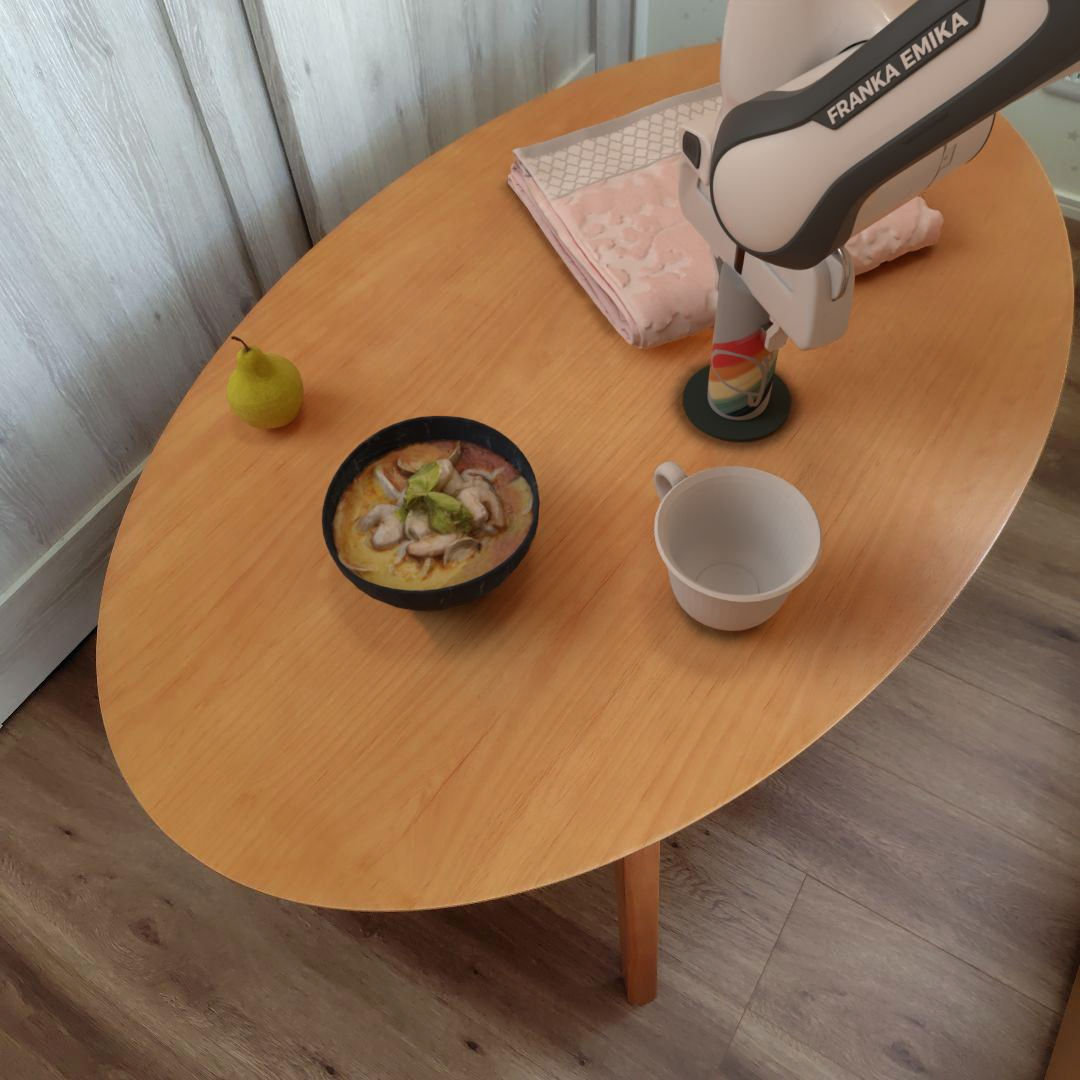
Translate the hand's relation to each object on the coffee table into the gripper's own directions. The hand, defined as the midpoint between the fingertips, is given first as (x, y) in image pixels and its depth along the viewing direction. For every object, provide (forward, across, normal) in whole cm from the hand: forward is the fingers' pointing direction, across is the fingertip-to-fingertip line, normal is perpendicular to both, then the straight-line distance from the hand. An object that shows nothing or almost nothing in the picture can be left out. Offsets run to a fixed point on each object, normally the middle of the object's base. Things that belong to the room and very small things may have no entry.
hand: (748, 317), depth 80 cm
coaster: (+10, 0, 0) cm, 10 cm away
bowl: (+11, -5, +31) cm, 33 cm away
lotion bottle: (+10, 0, 0) cm, 10 cm away
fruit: (+11, +18, +40) cm, 45 cm away
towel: (+11, +25, -11) cm, 29 cm away
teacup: (+11, -17, +12) cm, 23 cm away
